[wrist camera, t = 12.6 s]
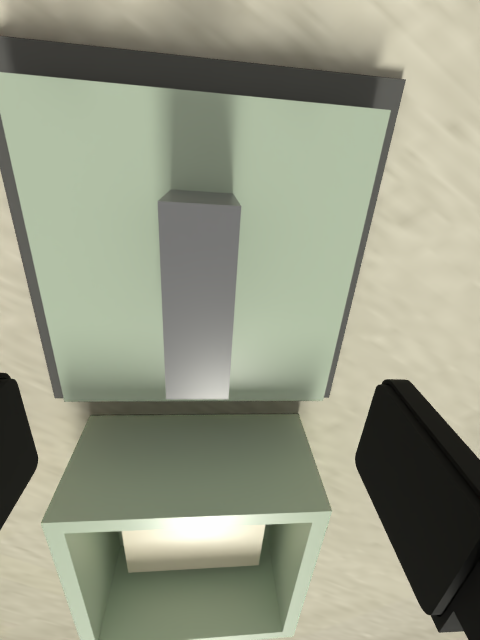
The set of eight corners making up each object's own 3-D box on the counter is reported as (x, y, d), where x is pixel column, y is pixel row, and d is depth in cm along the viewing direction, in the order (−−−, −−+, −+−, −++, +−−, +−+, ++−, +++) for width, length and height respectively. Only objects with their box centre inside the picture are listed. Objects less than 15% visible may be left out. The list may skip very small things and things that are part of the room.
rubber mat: (401, 81, 16) (405, 79, 16) (327, 394, 25) (328, 397, 25) (-27, 35, 14) (-33, 32, 14) (57, 394, 23) (54, 398, 23)
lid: (371, 114, 17) (458, 93, 11) (314, 382, 24) (347, 454, 18) (17, 81, 15) (-107, 33, 9) (75, 382, 22) (29, 461, 17)
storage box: (298, 413, 26) (332, 511, 19) (275, 533, 33) (293, 636, 26) (90, 415, 24) (40, 523, 17) (113, 541, 31) (84, 654, 24)
